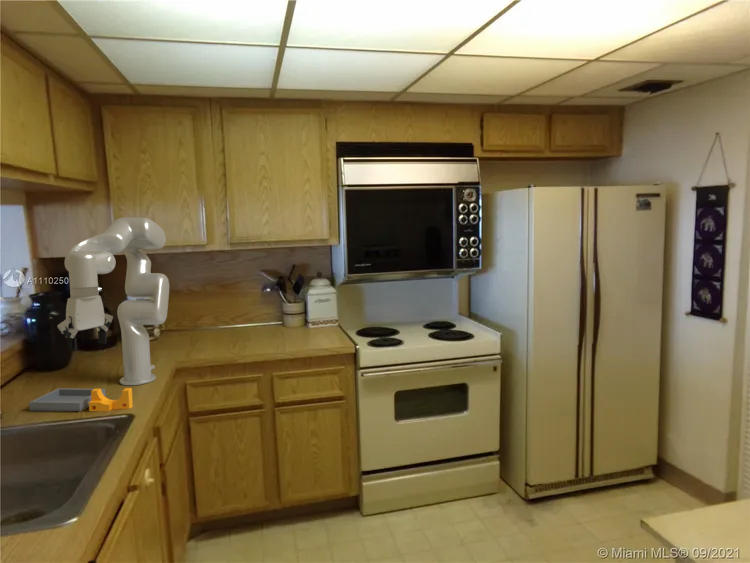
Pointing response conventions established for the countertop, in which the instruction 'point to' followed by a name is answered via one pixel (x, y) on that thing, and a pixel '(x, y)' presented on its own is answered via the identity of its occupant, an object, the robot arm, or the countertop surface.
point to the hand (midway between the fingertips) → (88, 346)
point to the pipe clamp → (110, 401)
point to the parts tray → (63, 400)
